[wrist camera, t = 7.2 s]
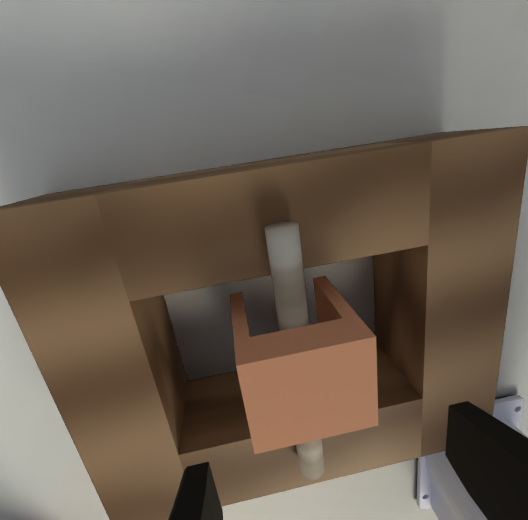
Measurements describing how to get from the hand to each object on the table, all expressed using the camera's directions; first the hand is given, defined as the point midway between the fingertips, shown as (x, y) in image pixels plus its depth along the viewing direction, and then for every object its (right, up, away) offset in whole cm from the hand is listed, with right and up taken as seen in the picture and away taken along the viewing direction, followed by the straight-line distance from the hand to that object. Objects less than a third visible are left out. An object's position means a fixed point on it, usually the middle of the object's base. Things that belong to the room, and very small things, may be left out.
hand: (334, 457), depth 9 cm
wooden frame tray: (-1, +3, +9) cm, 10 cm away
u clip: (-1, +3, +7) cm, 8 cm away
